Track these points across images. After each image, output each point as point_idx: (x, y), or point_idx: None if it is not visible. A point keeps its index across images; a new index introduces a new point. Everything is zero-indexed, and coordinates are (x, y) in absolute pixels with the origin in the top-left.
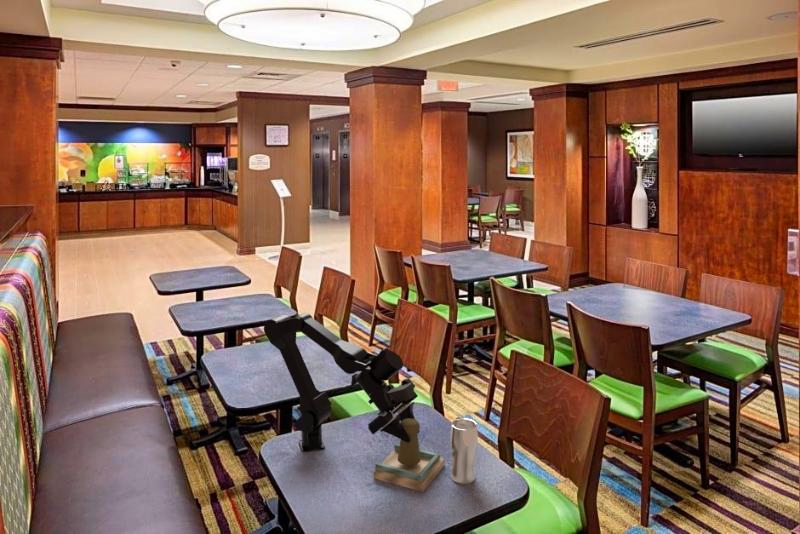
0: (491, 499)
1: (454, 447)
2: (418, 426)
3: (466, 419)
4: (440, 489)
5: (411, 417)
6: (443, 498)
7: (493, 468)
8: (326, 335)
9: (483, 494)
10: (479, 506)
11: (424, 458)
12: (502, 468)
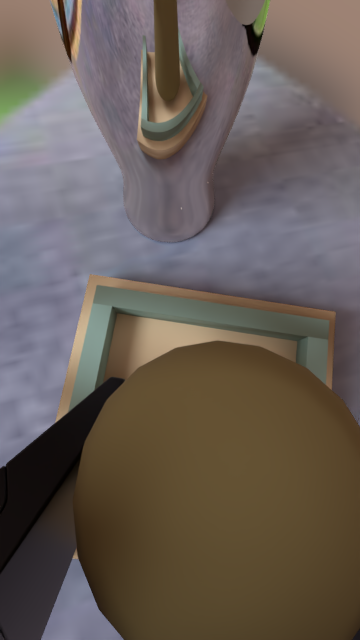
0: (269, 99)
1: (243, 89)
2: (239, 343)
3: None
4: (275, 262)
5: (30, 534)
6: (327, 239)
7: (74, 116)
8: None
9: (251, 124)
10: (323, 125)
11: (114, 364)
12: (66, 90)
